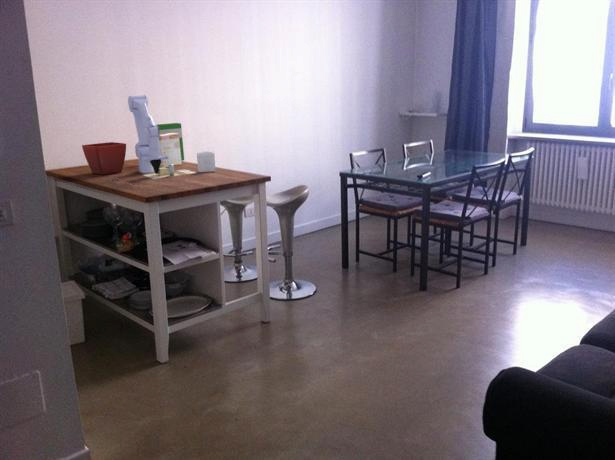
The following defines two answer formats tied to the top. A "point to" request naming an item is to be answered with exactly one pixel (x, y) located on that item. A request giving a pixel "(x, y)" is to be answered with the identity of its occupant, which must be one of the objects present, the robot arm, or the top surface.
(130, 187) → the top surface
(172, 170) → the silver metal cylinder
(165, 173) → the cream rectangular block
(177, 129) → the green white carton
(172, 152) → the coffeecake box
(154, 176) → the subfloor board
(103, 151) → the plant pot
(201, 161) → the white rounded block
